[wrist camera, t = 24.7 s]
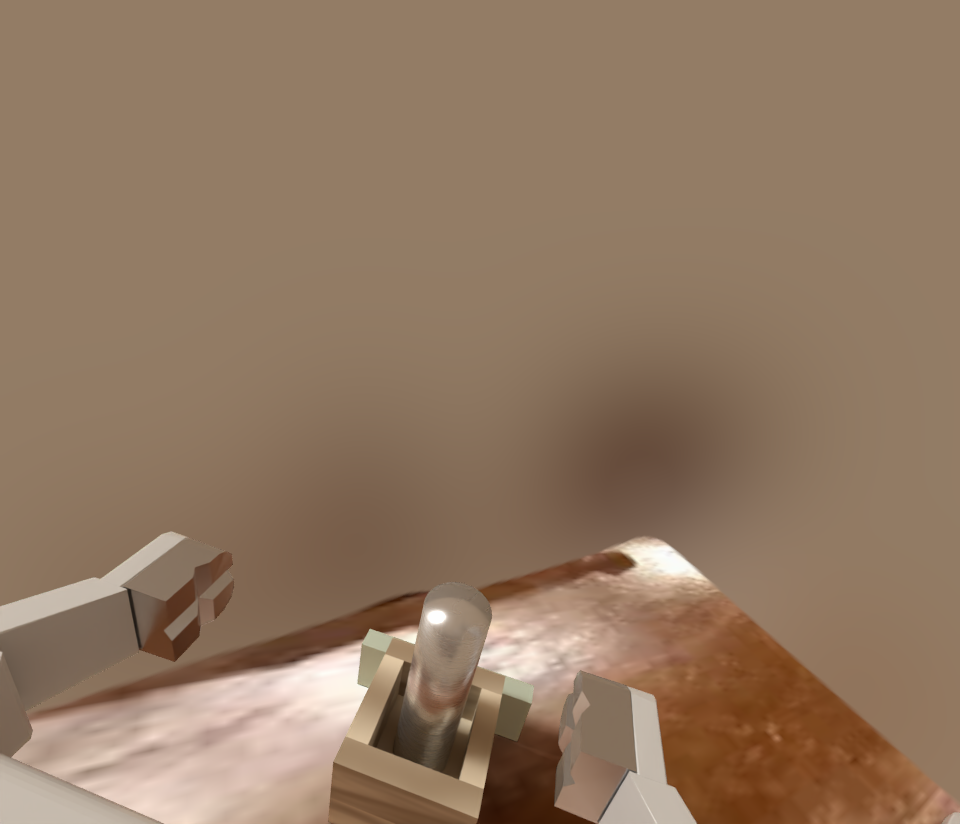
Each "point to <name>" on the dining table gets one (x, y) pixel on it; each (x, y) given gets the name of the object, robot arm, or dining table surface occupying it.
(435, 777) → the socket block
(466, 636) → the dowel
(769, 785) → the dining table surface
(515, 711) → the wall
